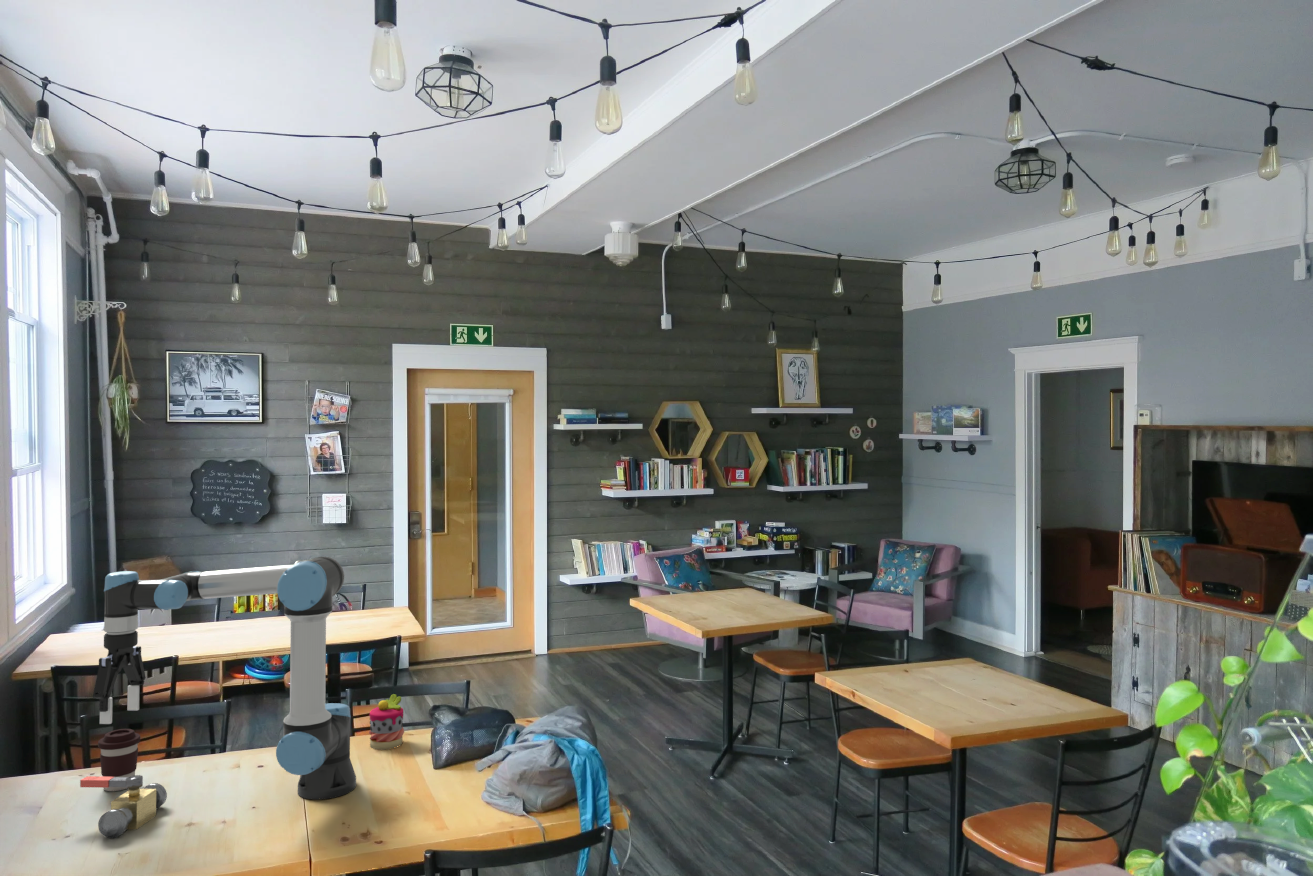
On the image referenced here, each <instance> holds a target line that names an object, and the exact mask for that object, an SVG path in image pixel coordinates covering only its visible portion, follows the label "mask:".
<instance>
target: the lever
mask: <svg viewBox="0 0 1313 876" xmlns="http://www.w3.org/2000/svg"><path fill="white" fill-rule="evenodd" d="M143 778H144V777H143V775H142V774H139V775H138V774H137V775H136V774H135V776H130V777H103V776H101V775H100V776H85V777H83V778H80V780H79V783H80V784H79V787H80V788H103V789H104V788H108V787H126V789H125V790H127V791H129V790H132V789H137V788H140V789H141V788H142V787H143V785H144V782H143V781H144V779H143Z"/></svg>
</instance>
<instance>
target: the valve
mask: <svg viewBox="0 0 1313 876" xmlns="http://www.w3.org/2000/svg"><path fill="white" fill-rule="evenodd" d="M167 798H168V793H167V790H166V788H165V786H164V785H162V784H160V783H157V782H152V783H149V784H147V785H146V786H145V787H143V788H141V787H140V788H137V789H132V790H127V791H125V792H124V793H122V794H121V795H119V796H118V797H116V798H115V799H113V800H112V801H110V802H111V803H110V809H109V810H107V811H106V812H104V813H103V814H101V816H100V817H99V820H98V825H97V826H98V831H99V833H100V834H101V835H102V836H103V837H104V838H108V839H115V838H117V837H119V836H121V835H123V834H124V833H125V832H126V831H127V830H138V829H139V828H141V827H142V826H144V825H145V824H146V823H148V822H149V821H151V820H152V819H153V818H155V817H156V816H157V810H158V809H159V808H160V807H162V806H163V805H164V804H165V803H166V801H167Z"/></svg>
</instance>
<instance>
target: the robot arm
mask: <svg viewBox="0 0 1313 876" xmlns="http://www.w3.org/2000/svg"><path fill="white" fill-rule="evenodd" d="M344 582H345V572H344V568H343V567H342V566H341V564H340V563H339V562H338V561H337V560H336V559H334V558H333V557H330V556H316V557H314V558H310V559H300V560H296V561H295V563H294V564H284V565H283V564H281V565H273V566H272V565H271V566H270V565H269V566H258V567H257V566H256V567H247V568H234V569H233V568H231V569H220V570H209V571H207V570H206V571H199V570H192V571H185V572H183V573H180V574H177V575H173V576H169V577H164V578H162V579H140V576H139V573H138V572H137V571H134V570H133V571H132V570H131V571H130V570H127V571H126V570H125V571H115V572H114V571H113V572H110V573H108V574H107V575H106V576H105V578H104V589H103V592H104V614H103V615H104V616H103V617H104V619H103V622H104V623H103V624H104V625H103V631H104V635H103V648H104V649H106V650H108V652H107V655H106V657H99V658H98V670H97V673H96V674H97V675H96V680H95V685H94V689H93V693H92V697H93V699H97V700H99V703H98V704H99V725H111V724H112V723H113V697H111V695H112V691H113V689H114V686H115V683H116V681H117V678H118V675H119V673H120V672H121V671H122V669H123V671H124V673H125V675H126V678H127V680H128V682H129V685H127V697H126V698H127V705H126V706H127V708H126V709H127V710H126V711H139V710H140V686H141V685H144V684H145V680H146V673H145V667H144V663H143V657H142V646H140V645H139V646H138V639H139V632H138V631H137V629H139V610H164V611H168V610H178V609H181V608H182V607H183V606H184V604H186V602H189V601H197V600H205V599H206V600H207V599H219V598H220V599H221V598H233V597H247V596H260V595H262V596H263V595H274V594H276V595H277V597H278V599H279V601H280V603H282V604H283V608H284V609H283V610H284V611H283V612H284V613H283V614H284V616H285V617H286V618H287V619H288V620H289V621H290V653H289V654H290V657H289V658H290V661H289V664H290V666H289V668H290V669H289V670H290V671H289V672H290V673H289V674H290V675H289V676H290V677H289V681H290V682H289V713H288V714H287V715H286V716H285V717H284V718H283V725H282V727H283V729H282V730H283V731H282V733H283V734H282V735H283V736H282V737H281V738H280V739H279V741H278V744H277V745H276V748H275V757H276V760H277V762H278V764H279V766H280V767H281V768H283V770H285V772H287V773H288V774H290V775H291V774H292V775H295V776H300V777H299V779H298V782H297V795H298V796H299V797H300V798H303V799H306V800H307V799H308V800H327V799H334V798H338V797H342V796H344V795H347V794H348V793H350V792H352V791H353V790H354V789H355V788H356V787H357V775H356V772H355V770H354V767H353V763H352V760H351V757H350V756H351V753H350V752H351V718H352V716H351V708H350V706H349V705H348V704H345V703H339V702H338V703H336V702H335V703H333V702H331V703H326V674H327V673H326V672H327V671H326V670H327V669H326V663H327V662H326V661H327V659H326V658H327V657H326V656H327V655H326V654H327V651H326V650H327V649H326V648H327V645H326V644H327V637H326V636H327V618H328V617H329V616H330V614H331V613H332V612H333V597H334V596H336V594H337V593H339V591H340V590H341V589H342V587H343V585H344Z"/></svg>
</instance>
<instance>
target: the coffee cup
mask: <svg viewBox="0 0 1313 876" xmlns="http://www.w3.org/2000/svg"><path fill="white" fill-rule="evenodd" d="M139 743H141V734H139V733H137V732H135V730H134V729H131V728H120V729H115V730H111V731H109V732H107V733H105V734H104V737H101V738H100V739H99V740H98V741H97V747H98V748H99V750H100V754H99V755H100V756H99V758H100V770H101V772H100V773H101V777H130V776H135V775H136V770H137V766H138V757H139V756H138V755H139V754H138V753H139V747H138V745H139ZM103 790H104V791H105V792H119V791H120V792H121V791H124V790H127V789H126V787H108V788H103Z"/></svg>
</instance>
